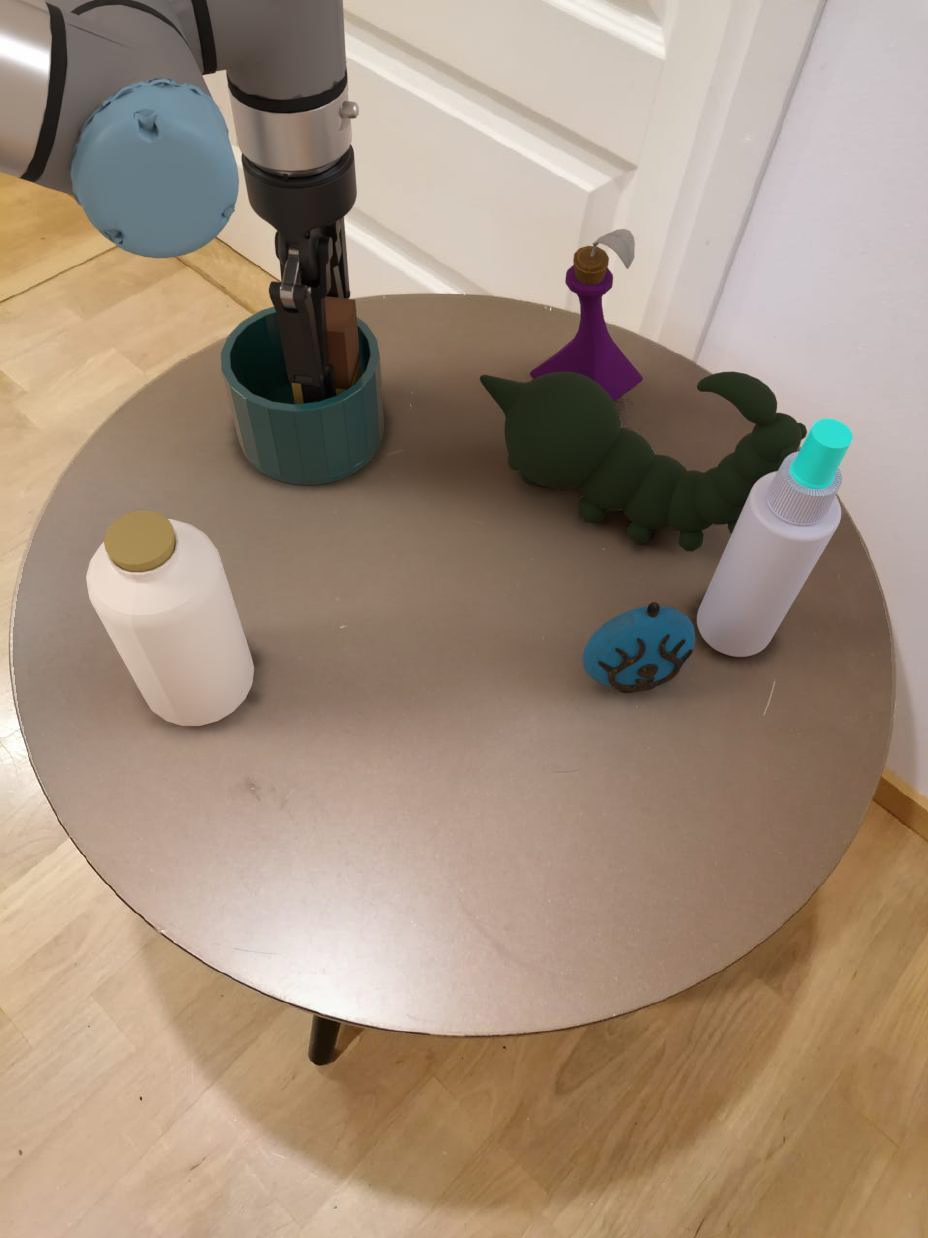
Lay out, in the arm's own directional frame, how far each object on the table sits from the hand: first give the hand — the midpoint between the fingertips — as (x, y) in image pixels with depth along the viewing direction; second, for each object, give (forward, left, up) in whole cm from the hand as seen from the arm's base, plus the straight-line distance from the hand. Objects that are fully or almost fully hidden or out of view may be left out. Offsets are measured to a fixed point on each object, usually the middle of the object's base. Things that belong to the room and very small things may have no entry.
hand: (329, 403), depth 82 cm
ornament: (+28, -21, -4) cm, 35 cm away
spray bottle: (+36, -15, -4) cm, 39 cm away
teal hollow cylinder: (-2, 0, -4) cm, 4 cm away
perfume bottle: (+22, +8, -4) cm, 24 cm away
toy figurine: (+25, -4, -4) cm, 26 cm away
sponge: (0, 0, -2) cm, 2 cm away
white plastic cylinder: (-4, -27, -4) cm, 27 cm away
